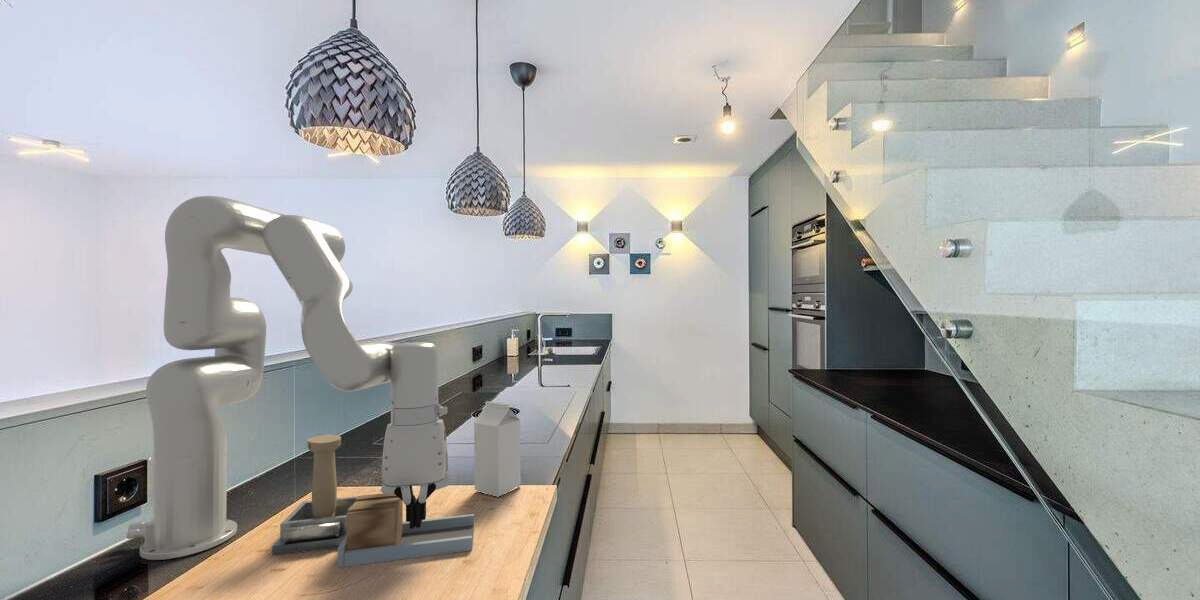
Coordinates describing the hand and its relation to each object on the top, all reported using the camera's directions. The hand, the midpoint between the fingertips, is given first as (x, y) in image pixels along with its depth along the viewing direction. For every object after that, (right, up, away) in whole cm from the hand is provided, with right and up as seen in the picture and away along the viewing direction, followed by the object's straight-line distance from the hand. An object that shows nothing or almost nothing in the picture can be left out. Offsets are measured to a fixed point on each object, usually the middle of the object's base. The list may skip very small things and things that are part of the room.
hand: (416, 524), depth 78 cm
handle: (-19, -2, +5) cm, 19 cm away
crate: (-6, -3, -2) cm, 7 cm away
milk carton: (+9, -4, +23) cm, 25 cm away
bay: (0, -3, 0) cm, 3 cm away
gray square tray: (-18, -4, +4) cm, 19 cm away
